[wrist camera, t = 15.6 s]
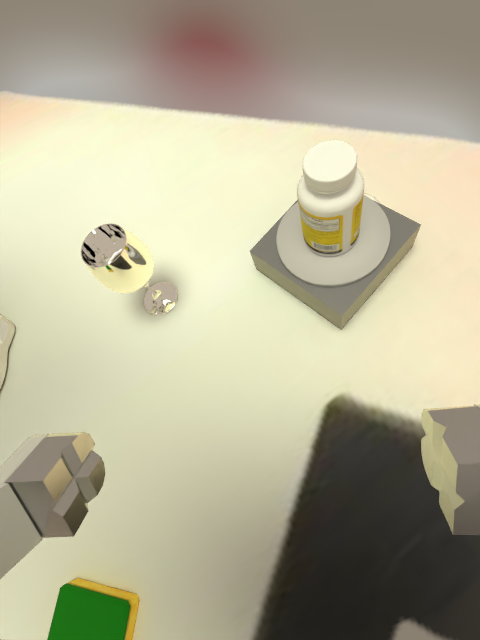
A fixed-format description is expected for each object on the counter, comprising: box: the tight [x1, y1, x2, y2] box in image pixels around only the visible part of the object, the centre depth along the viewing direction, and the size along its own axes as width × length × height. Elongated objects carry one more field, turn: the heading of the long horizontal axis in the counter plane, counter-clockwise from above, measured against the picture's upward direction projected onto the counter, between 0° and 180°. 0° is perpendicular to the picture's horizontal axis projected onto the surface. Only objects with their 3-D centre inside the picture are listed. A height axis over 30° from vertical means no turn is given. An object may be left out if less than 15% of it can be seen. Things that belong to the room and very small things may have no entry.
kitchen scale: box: [250, 193, 421, 329], centre depth 37 cm, size 12×13×5 cm
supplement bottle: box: [297, 140, 364, 257], centre depth 31 cm, size 5×5×10 cm
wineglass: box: [81, 224, 178, 315], centre depth 38 cm, size 6×6×12 cm
